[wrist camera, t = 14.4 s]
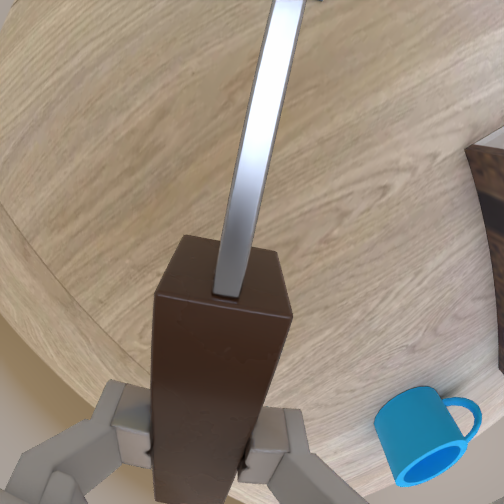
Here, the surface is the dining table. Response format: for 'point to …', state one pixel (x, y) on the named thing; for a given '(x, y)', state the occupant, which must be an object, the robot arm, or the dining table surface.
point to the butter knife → (223, 309)
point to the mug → (422, 434)
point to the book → (492, 211)
